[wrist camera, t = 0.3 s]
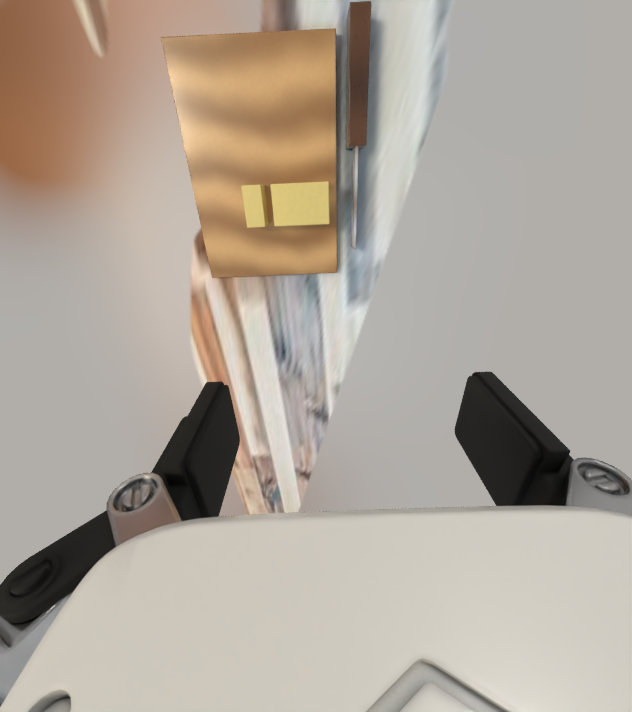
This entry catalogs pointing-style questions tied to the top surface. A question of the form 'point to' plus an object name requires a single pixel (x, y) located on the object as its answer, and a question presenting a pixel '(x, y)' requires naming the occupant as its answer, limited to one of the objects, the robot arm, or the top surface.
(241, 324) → the top surface
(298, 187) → the butter
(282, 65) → the board
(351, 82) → the knife
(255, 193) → the butter pat
